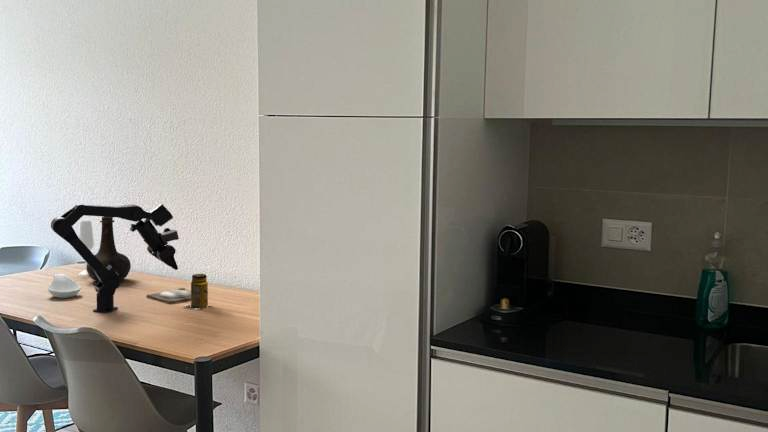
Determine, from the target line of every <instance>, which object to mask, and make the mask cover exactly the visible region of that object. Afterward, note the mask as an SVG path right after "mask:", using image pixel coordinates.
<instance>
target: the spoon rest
mask: <svg viewBox="0 0 768 432" xmlns="http://www.w3.org/2000/svg"><path fill="white" fill-rule="evenodd" d="M81 289H82V287H81V285H80V284H79V283H77V282H76V281H74V280H73V279H72V278H70V277H69V276H68V275H66V274H65V273H61V274H58V273H55V274H54V275H53V278H52V281H51V282H50V284H49V285H48V287H47V290H48V292H49V294H51V295H52V296H53V297H55V298H57V297H58V299H68V298H69V299H70V298H73V297H75V296H76V295H78V293H79V292H81Z"/></svg>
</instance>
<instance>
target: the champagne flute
mask: <svg viewBox="0 0 768 432" xmlns="http://www.w3.org/2000/svg"><path fill="white" fill-rule="evenodd" d="M78 238H79V239H80V240H81V241H82V242H83V243H84V244H85V245H86V246H87V248H88V249H89V250H90V251H92V249H93V248H94V246H95V239H94V232H93V224H92V220H91V219H84V220H83V219H81V220H79V231H78ZM84 262H85V265H84V266H85V269H84V270H83V271H81V272H80V273H79V275H80V274H81V275H80V276H89V274H88V272H87V262H86V261H85V260H84Z"/></svg>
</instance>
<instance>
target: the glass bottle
mask: <svg viewBox="0 0 768 432" xmlns="http://www.w3.org/2000/svg"><path fill="white" fill-rule="evenodd" d="M113 219H114V217H103V216H101V220H99V223H101V233H100V234H101V235H100V244H99V248H98V251H97V253H96V254H94V255H95V256H96V258H97V259H98V260H99V261H100V262H101V263H102V264H103V265H104V266H105V267H106V268H107V266H108V265H110V266H111V267H112V268H113V269H114V271H115V272H116V273H117V274H119V275H120V276H118V277H119V279H120V282H121V281H123V280H124V279H126V277H127V276H128V275H129V273H130V271H131V267H132V265H131V264H132V263H131V261H130V259H129V258H128V256H126V255H125V254H123V253H121V252H118V250H117V248H116V245H115V244H116V243H115V236H114V235H115V234H114V225H113V223H115V220H113ZM87 272H88V274H89V275H88V276H89V277H90V278H91V279H92V280H93V281H94V282H97V283H98V282H99V281H100V280H99V279H98V277H97V275H96V273H95V272H94V270H93V269H92V268H91V267H90V266H89V265H88V263H87Z"/></svg>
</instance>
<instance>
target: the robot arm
mask: <svg viewBox="0 0 768 432" xmlns="http://www.w3.org/2000/svg"><path fill="white" fill-rule="evenodd" d="M84 216H86V217H87V216H89V217H113V218H118V219H122V220H126V221H129V222H133V223H131V224H130V228H129V230H130V232H132V233H133V232H134V233H135V231H137V232H138V233H139V235H140V236H141V238H142V239H143V242H144V243H146V245H147V246H146V247H147V248H146V250H147V251H148V254H150V255H151V256H153V257H154V258H155V259H157V260H159V261H161V262H162V263H163V264H165V265H166V266H168V267H169V268H172V269H173V270H175V271H178V269H179V266H178V264H177V261H176V259H175V254H176V253H177V252H176V251H177V250H176V248H175V247H174V246H173V245H171V244H169V242H172V241H178V240H179V239H180V237H179V234H178V233H179V232H178V230H176V229H171V228H169V227H165V228H163V231H162V232H159V231H158V229H156V227H158V226H159V227H160V228H161V227H162V226H164V225H166V224H167V223H168V222H169V221H172V219H173V218H174V216H173V215H172V213H171V212H170V210H168V208H167V207H166V206H165V205H164V204H163V203H160V204H159V205H157V206H156V207H155V208H154V209H152V210H151V211H148V210H144V209H143V208H142V207H141V206H139V205H136V204H126V205H125V204H124V205H118V206H115V205H114V206H113V205H112V206H109V205H97V204H95V205H94V204H83V203H77V204H75V205H74V206H73V207H72V208H71V209H69V210H67V211H66V212H65V213H63V214H62V215H61V216H56V217H54V218H53V219H52V220H51V222H50V229H51V230H52V231H53V232H54V233H55V234H56V235H58V236H59V237H61V239H63V240H64V241H65V242H67V243H68V244H69V245H70V247H72V249H74V250H75V251H76V253H78V255H79V256H80V258H82V259H83V260H84V262H85V261H86V262H87V263H88V265H89V266H90V267H91V268H92V269H93V270H94V272H95V273H96V275H97V277H98V279H99V280H100V281H99V282H97V283H96V284H95V285H94V290H95V292H96V308H95V309H93V310H92V312H95V313H111V312H114V311H115V310H118V306H115V303H114V302H115V300H114V299H115V298H114V297H115V296H114V295H115V292H116V291H117V289H118V288H119V287H120V285H121V281H120V279H119V277H118V276H120V275H119V274H117V273H116V272H115V271H114V269H113V268H112V267H111V266H110V265H108V266H107V268H106V267H105V266H104V265H103V264H102V263H101V262H100V261H99V260H98V259H97V258H96V256H95V255H96V254H94V253H93V252H92V250H89V249H88V248H87V246H86V245H85V244H84V243H83V242H82V241H81V240H80V239H79V235H78V234H77V233H76V231H75V229H74V227H73V226H74V225H75V224H77V222H78V221H80V219H81V218H82V217H84ZM134 222H135V223H134ZM155 226H156V227H155Z"/></svg>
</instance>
